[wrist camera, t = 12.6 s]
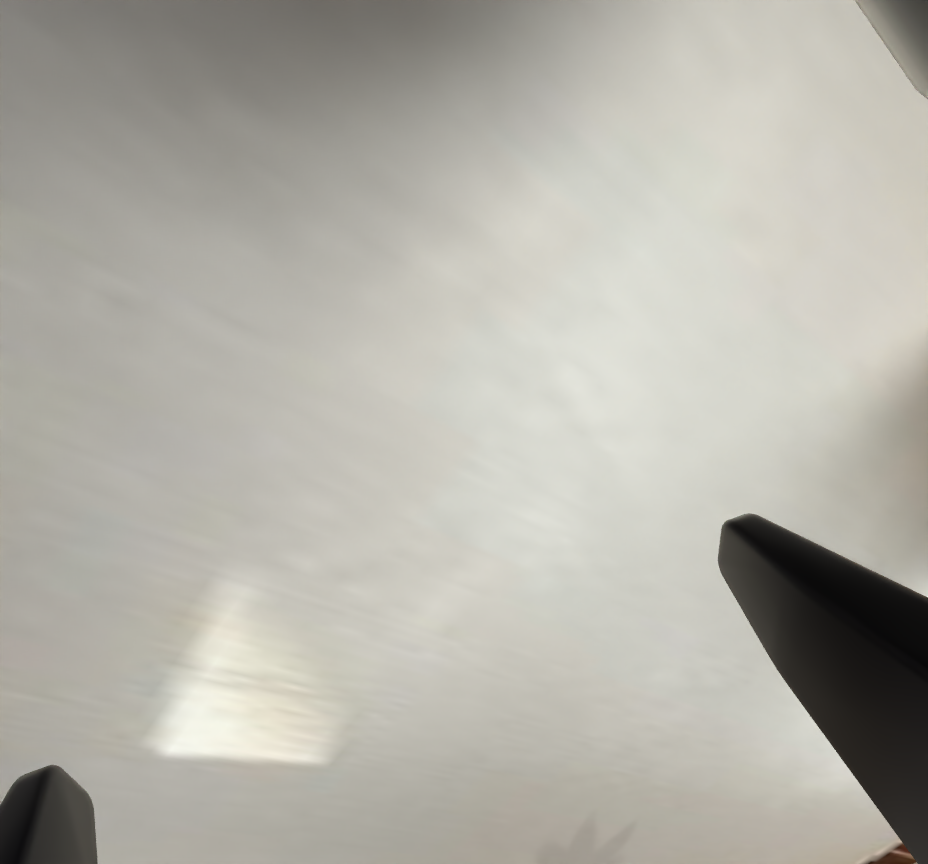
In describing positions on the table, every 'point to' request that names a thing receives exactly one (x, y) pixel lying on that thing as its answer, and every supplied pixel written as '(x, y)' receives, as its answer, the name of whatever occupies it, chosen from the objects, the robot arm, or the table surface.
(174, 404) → the table surface
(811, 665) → the robot arm
